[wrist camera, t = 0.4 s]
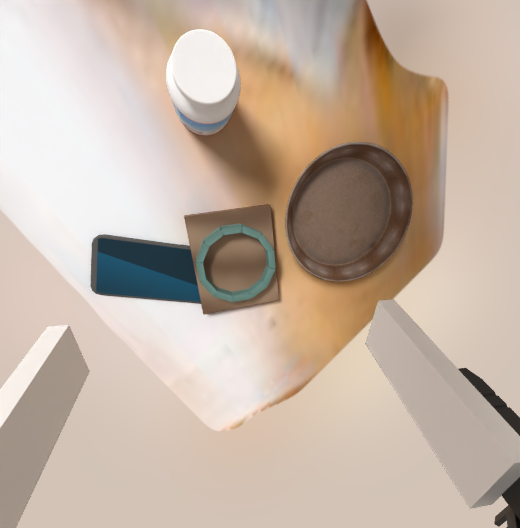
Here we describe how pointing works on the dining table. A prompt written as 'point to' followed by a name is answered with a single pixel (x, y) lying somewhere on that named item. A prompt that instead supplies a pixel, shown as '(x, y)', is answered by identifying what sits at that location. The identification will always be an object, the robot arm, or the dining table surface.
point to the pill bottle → (203, 81)
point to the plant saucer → (348, 211)
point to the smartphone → (143, 269)
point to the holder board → (233, 257)
